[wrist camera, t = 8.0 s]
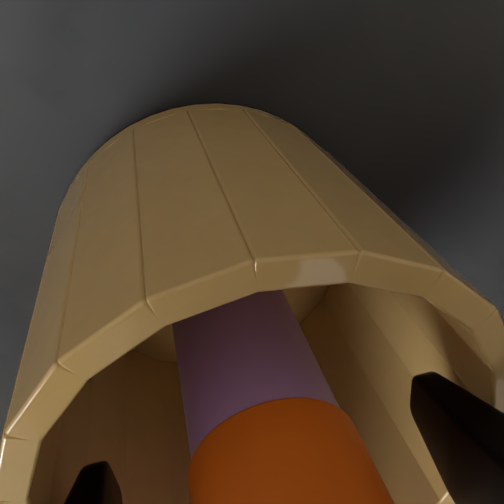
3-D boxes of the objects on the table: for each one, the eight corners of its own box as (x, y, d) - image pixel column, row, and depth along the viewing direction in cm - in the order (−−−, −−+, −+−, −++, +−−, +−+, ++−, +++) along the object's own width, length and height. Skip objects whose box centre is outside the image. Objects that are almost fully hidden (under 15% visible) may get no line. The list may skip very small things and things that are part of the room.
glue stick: (283, 265, 14) (462, 599, 7) (202, 321, 15) (288, 696, 7) (226, 193, 13) (376, 526, 5) (137, 258, 13) (159, 655, 6)
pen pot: (391, 261, 16) (564, 454, 10) (184, 399, 17) (221, 653, 11) (252, 28, 11) (410, 111, 5) (-19, 237, 12) (-161, 515, 6)
